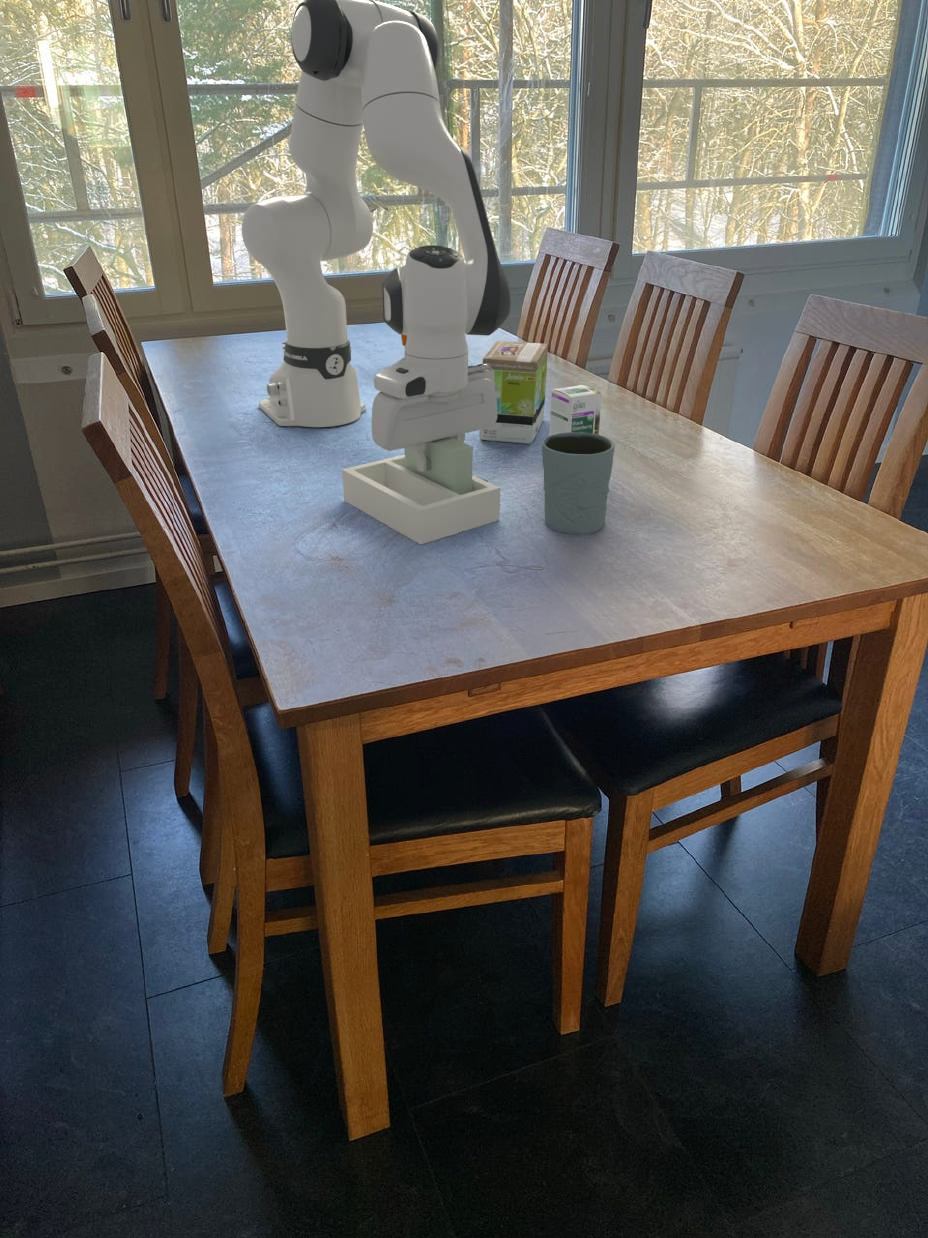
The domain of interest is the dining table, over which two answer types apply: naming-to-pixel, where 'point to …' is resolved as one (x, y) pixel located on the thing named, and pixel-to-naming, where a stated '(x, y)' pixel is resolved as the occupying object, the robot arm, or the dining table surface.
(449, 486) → the long pale green block
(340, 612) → the dining table surface
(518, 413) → the tea box
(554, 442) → the gray green embossed cup
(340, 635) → the dining table surface
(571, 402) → the syrup box
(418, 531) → the divided cream tray
